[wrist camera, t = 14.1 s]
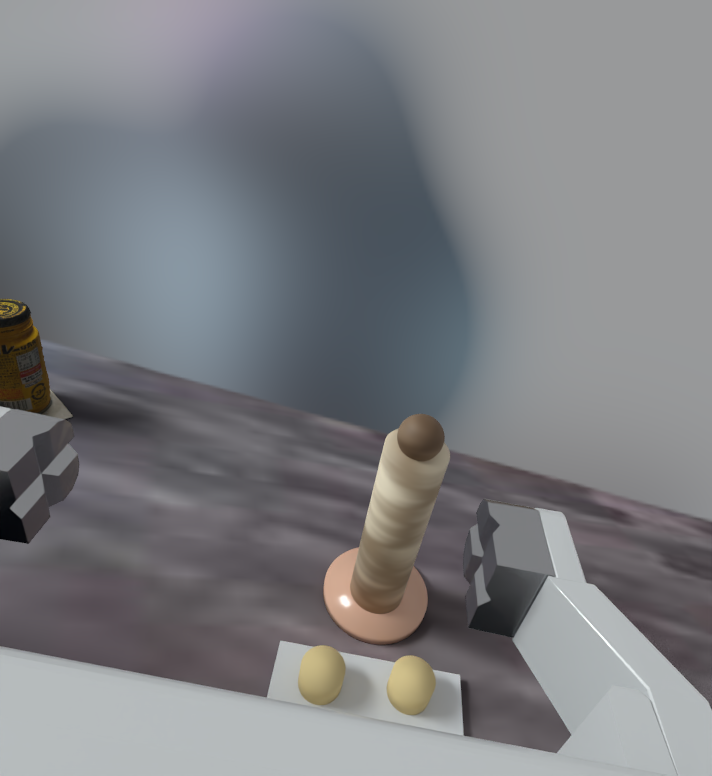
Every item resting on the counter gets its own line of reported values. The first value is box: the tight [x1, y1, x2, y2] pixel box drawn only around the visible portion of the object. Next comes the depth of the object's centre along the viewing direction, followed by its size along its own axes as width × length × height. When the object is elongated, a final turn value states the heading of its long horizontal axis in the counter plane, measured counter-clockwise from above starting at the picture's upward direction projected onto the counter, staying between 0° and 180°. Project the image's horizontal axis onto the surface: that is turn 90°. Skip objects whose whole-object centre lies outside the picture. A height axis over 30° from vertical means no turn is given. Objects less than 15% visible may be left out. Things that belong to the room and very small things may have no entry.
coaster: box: [323, 548, 428, 645], centre depth 45 cm, size 9×9×1 cm
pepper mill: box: [350, 414, 450, 614], centre depth 40 cm, size 5×5×19 cm
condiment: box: [0, 299, 73, 419], centre depth 55 cm, size 7×8×12 cm
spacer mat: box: [267, 641, 464, 736], centre depth 33 cm, size 14×16×3 cm
